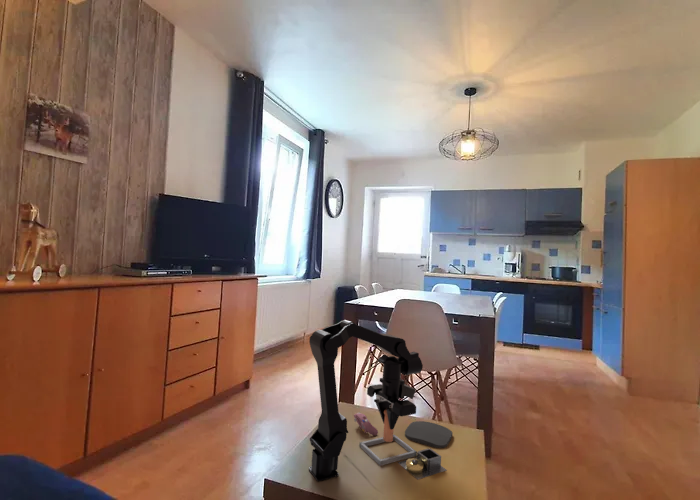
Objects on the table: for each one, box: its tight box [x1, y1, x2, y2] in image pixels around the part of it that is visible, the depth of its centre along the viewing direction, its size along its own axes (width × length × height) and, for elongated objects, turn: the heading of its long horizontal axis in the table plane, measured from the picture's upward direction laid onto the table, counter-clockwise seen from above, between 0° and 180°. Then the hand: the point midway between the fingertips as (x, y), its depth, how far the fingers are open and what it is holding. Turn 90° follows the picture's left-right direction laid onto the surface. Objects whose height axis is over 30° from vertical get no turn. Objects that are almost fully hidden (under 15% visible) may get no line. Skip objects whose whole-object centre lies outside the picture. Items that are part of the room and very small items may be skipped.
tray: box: [358, 434, 418, 466], centre depth 113 cm, size 14×12×2 cm
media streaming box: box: [404, 420, 453, 449], centre depth 126 cm, size 15×15×3 cm
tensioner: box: [397, 448, 448, 480], centre depth 106 cm, size 11×9×4 cm
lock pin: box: [382, 409, 395, 443], centre depth 114 cm, size 4×4×9 cm
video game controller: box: [353, 411, 379, 437], centre depth 128 cm, size 10×5×7 cm, turn 24°
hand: (388, 426), depth 114 cm, fingers closed on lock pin, 3 cm apart
